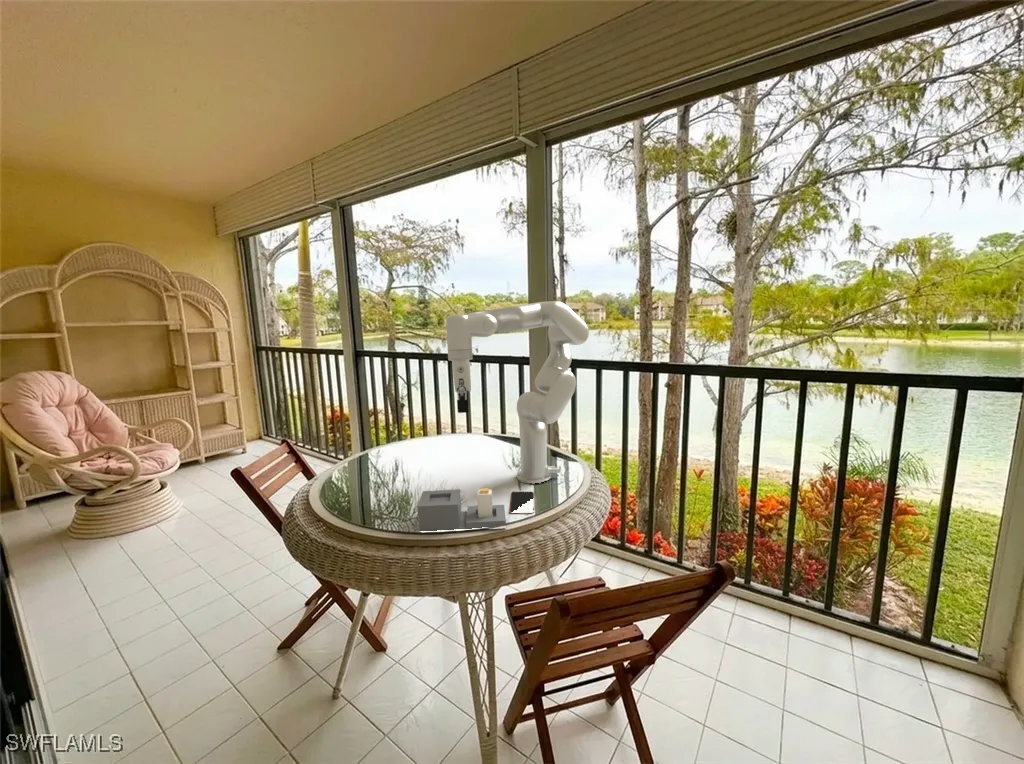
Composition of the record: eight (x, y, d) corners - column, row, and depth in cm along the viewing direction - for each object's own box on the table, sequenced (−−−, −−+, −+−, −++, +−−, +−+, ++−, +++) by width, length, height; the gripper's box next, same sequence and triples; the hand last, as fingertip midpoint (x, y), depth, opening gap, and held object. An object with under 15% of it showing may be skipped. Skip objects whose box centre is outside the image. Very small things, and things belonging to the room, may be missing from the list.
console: (504, 512, 128) (503, 487, 126) (506, 528, 118) (505, 502, 117) (424, 516, 126) (422, 491, 125) (419, 533, 116) (417, 506, 115)
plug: (492, 515, 124) (491, 487, 122) (492, 520, 121) (491, 491, 119) (478, 515, 124) (477, 487, 122) (478, 521, 121) (477, 492, 119)
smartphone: (533, 491, 141) (534, 512, 126) (533, 494, 141) (534, 514, 126) (511, 491, 141) (509, 512, 127) (511, 494, 142) (509, 514, 127)
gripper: (472, 357, 122) (475, 414, 125) (472, 351, 139) (474, 402, 142) (446, 358, 122) (450, 416, 125) (449, 352, 139) (452, 403, 142)
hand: (463, 408), depth 133 cm, fingers open, 9 cm apart
